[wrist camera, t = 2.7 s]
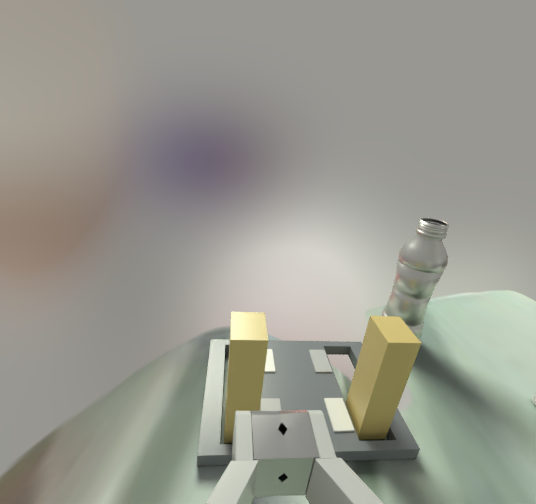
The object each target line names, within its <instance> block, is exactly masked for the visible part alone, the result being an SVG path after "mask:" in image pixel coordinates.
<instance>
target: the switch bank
mask: <svg viewBox="0 0 536 504" xmlns="http://www.w3.org/2000/svg"><path fill="white" fill-rule="evenodd" d="M229 342H230V340H215V339H211V345H210V353H209V362H208V370H207V379H206V387H205V395H204V404H203V412H202V421H201V429H200V438H199V446H198V454H197V466H214V465H229V463H230V461H232V446H233V444H220V434H221V415H222V397H223V378H224V359H225V353H229ZM361 347H362V343H361V342H329V341H327V342H326V341H273V340H268V348H267V356H266V364H265V372H264V380H263V388H262V396H261V404H260V411H284V410H306V411H307V410H321V411H322V412H323V414H324V417H325V421H326V424H327V427H328V431H329V434H330V437H331V441H332V444H333V447H334V451H335V454H336V457H337V458H342V459H343V460H344V461H362V460H392V459H416V457H417V454H418V452H419V450H420V448H419V447H418V445H417V443H416V441H415V439H414V438H413V436H412V434H411V432H410V430H409V428H408V427H407V425H406V423H405V421H404V419H403V418H402V416H401V414H400V412H399V410H398V409H396V412H395V415H394V417H393V420H392V423H391V425H390V428H389V431H388V433H387V438H388V440H376V441H359V438H358V436H357V433H356V430H355V428H354V425H353V422H352V420H351V417H350V414H349V412H348V409H347V407H346V404H345V401H344V399H343V396H342V393H341V391H340V388H339V385H338V383H337V380H336V377H335V375H334V372H333V370H332V367H331V364H330V362H329V359H328V356H327V354H348V355H349V357H350V359H351V362H352V364H353V366H354V368H355V369H356V365H357V361H358V358H359V354H360V351H361Z"/></svg>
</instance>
